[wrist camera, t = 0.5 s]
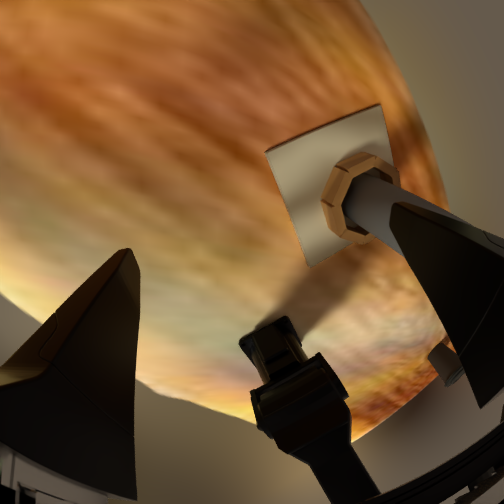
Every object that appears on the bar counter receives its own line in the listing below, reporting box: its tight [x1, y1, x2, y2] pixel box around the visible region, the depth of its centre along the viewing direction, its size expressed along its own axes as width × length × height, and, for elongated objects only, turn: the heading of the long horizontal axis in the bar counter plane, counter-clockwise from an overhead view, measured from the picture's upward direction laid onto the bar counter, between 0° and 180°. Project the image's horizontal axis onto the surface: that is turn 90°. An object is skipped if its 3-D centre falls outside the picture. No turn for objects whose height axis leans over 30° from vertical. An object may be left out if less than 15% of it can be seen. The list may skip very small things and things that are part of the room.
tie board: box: [264, 105, 401, 268], centre depth 26 cm, size 13×13×2 cm
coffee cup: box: [428, 343, 465, 387], centre depth 53 cm, size 8×8×10 cm
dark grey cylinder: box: [341, 172, 472, 258], centre depth 22 cm, size 5×5×13 cm
